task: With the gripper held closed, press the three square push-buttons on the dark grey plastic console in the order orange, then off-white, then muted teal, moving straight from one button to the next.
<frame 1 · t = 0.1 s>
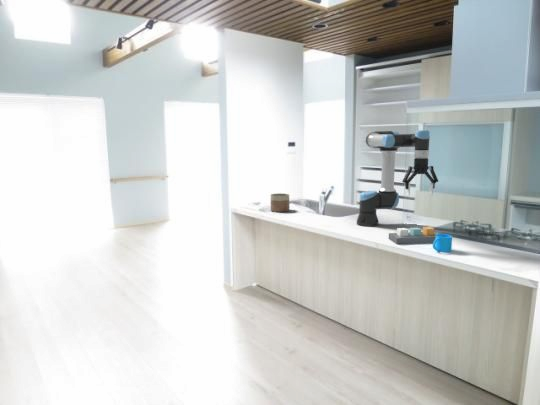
hand: (419, 194, 230), 28 cm above the table, fingers open, 13 cm apart
console: (415, 240, 236), on the table
button white: (402, 232, 235), point 5 cm above the table, slide at 0.0 cm
planter: (280, 211, 337), on the table
mug: (440, 251, 215), on the table
button orange: (428, 231, 236), point 5 cm above the table, slide at 0.0 cm
button teal: (415, 231, 235), point 5 cm above the table, slide at 0.0 cm
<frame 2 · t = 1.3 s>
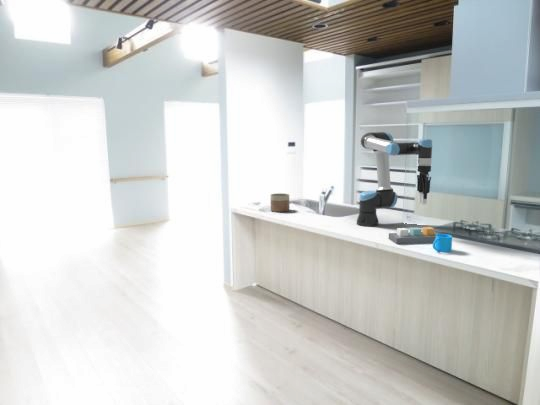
hand: (422, 203, 242), 21 cm above the table, fingers open, 3 cm apart
nothing on the table moved.
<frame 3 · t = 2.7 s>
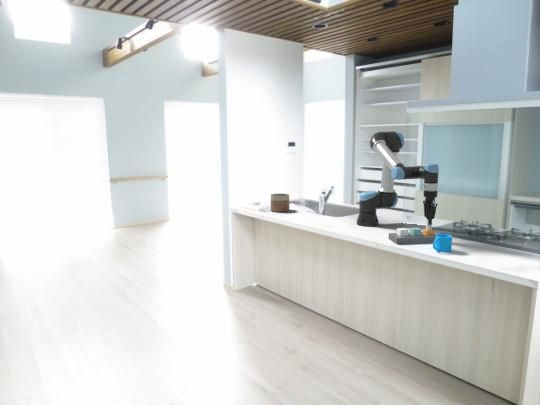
hand: (428, 229, 236), 6 cm above the table, fingers closed
button orange: (428, 233, 236), point 4 cm above the table, slide at 1.2 cm, touching gripper
everything else where it was.
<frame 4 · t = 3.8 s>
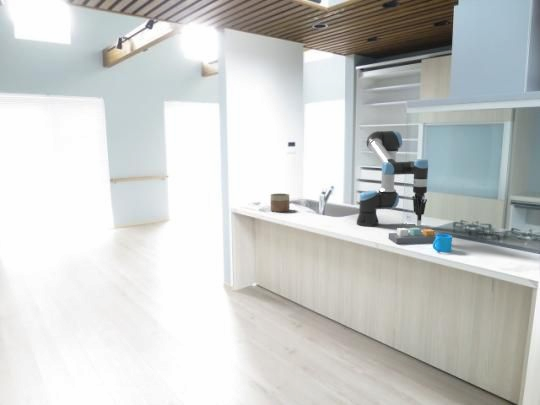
hand: (418, 225, 235), 9 cm above the table, fingers closed
button orange: (428, 233, 236), point 4 cm above the table, slide at 1.3 cm
everything else where it was.
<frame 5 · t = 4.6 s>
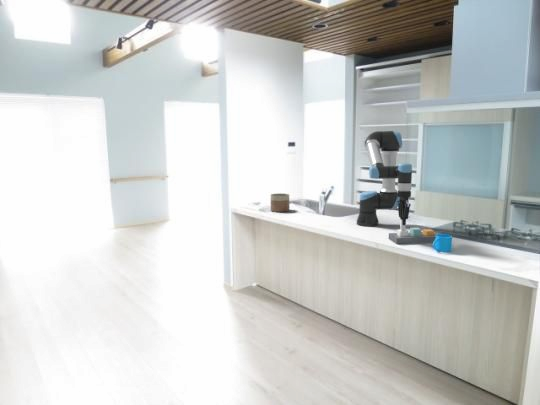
hand: (402, 229, 234), 7 cm above the table, fingers closed
button white: (402, 233, 235), point 5 cm above the table, slide at 0.8 cm, touching gripper
everything else where it was.
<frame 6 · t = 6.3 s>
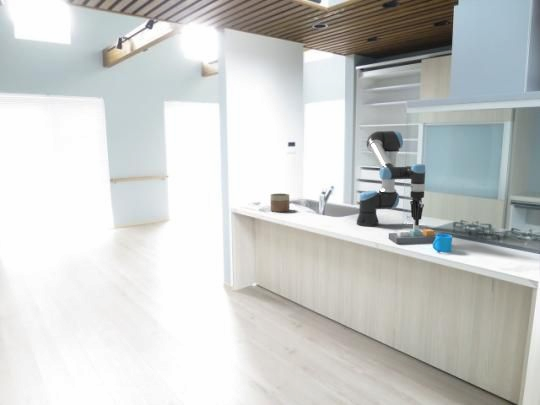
hand: (415, 230, 235), 6 cm above the table, fingers closed
button white: (402, 234, 235), point 4 cm above the table, slide at 1.3 cm
button teal: (415, 233, 235), point 4 cm above the table, slide at 1.3 cm, touching gripper
everything else where it was.
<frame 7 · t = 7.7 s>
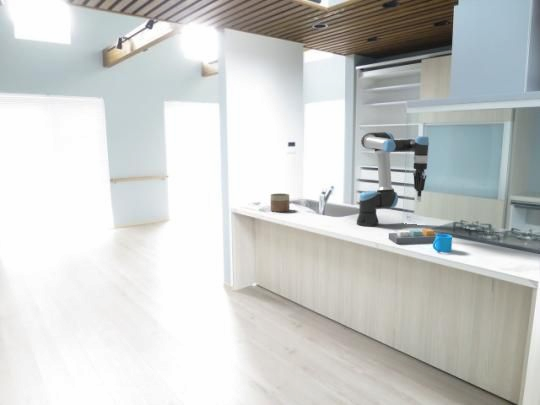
hand: (418, 201, 241), 22 cm above the table, fingers closed
button teal: (415, 234, 236), point 4 cm above the table, slide at 1.3 cm
everything else where it was.
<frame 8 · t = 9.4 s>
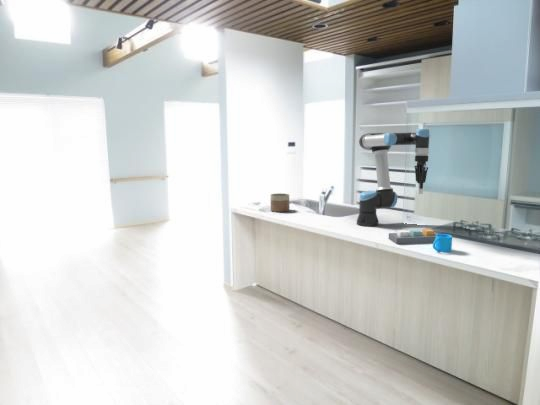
hand: (419, 193, 243), 26 cm above the table, fingers closed
nothing on the table moved.
at the end: button orange slide at 1.3 cm; button white slide at 1.3 cm; button teal slide at 1.3 cm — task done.
